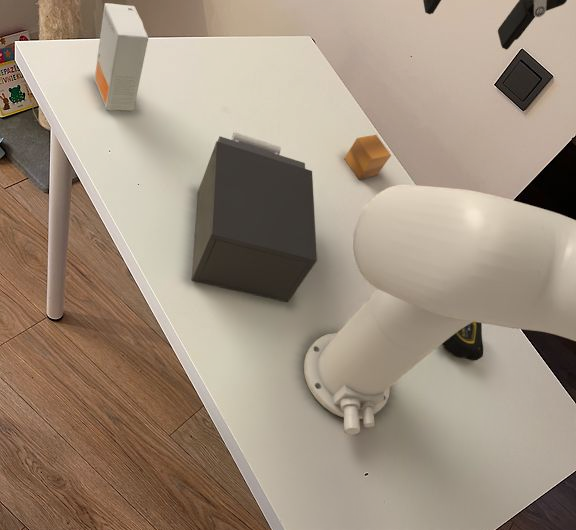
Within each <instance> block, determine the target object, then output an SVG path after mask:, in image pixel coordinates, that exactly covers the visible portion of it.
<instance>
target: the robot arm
mask: <svg viewBox="0 0 576 530" xmlns="http://www.w3.org/2000/svg"><path fill="white" fill-rule="evenodd" d="M441 1H442V0H422V2H423V8H424V13H425V14H428V15H431V14H432V15H433V14H434V13H435V10H437V8H438V6H439V5H440V3H441ZM567 2H568V0H518V2H517V3H516V4H515V5H514V7H513V8H512V9H511V11H510V13H508V15H507V16H506V18H505V19H504V20H503V22H502V23H501V24H500V26H499V27H498V28H497V34H498V39H499V42H500V46H501V48H502V49H504V50H506V51H507V50H509V49H510V47H511V46H512V45H513V44H514V42H515V41H517V40H518V39H519V38H520V37H521V36H522V34H524V32H525V31H526V30H527V28H528V27H529V25H531V23H532V22H533V21H534V19H535V18H541V17H542V16H544V15H545V13H546V12H548V11H550V10H553V9H556V8H558V7H561V6H564V5H565V4H566V3H567ZM352 249H353V256H354V260H355V263H356V266H357V268H358V270H359V272H360V274H361V275H362V277H363V278H364V280H366V281H367V282H368V283H369V284H370V285H371V286H372V287H374V288H376V289H375V291H374V292H373V293H372V294H370V296H369V297H368V298H367V300H366V301H365V302H364V303H363V304H362V305H361V306H360V308H359V309H358V310H357V311H356V312H355V313H354V315H352V317H351V318H350V319H349V320H348V321H347V322H346V323H345V324H344V326H343V327H342V328H341V329H340V330H339V331H338V332H331V333H328V334H324V335H323V336H320V337H319V338H317V339H316V340H315V341H314V342H313V343H312V344H311V345H310V346H309V348H308V350H307V352H306V354H305V357H304V359H303V373H304V378H305V381H306V385H307V387H308V389H309V391H310V392H311V394H312V396H313V397H314V398H315V399H316V401H317V402H318V403H319V404H320V405H321V406H323V408H325V409H326V410H328V411H329V412H331V414H334V415H336V416H338V417H341V418H343V426H344V427H343V429H344V433H345V434H347V435H356V434H359V433H360V432H361V426H360V425H361V423H360V420H362V421H363V427H364V428H373V427H375V425H376V423H375V414H377V413H378V412H380V411H381V410H382V409H383V408H384V407H385V405H386V404H387V402H388V399H389V397H390V394H391V386H392V385H394V384H395V383H396V382H397V381H399V380H400V379H401V378H402V377H403V376H404V375H406V374H407V373H408V372H410V371H411V370H412V369H413V368H414V367H415V366H417V365H418V364H419V363H421V361H423V360H424V359H425V358H426V357H428V356H429V355H430V354H431V353H433V352H434V351H435V350H437V348H439V347H440V346H441V345H442V343H444V342H445V341H446V340H447V339H449V338H450V337H451V336H452V335H454V334H455V333H456V332H458V331H459V330H461V329H462V328H464V327H465V326H467V325H468V324H470V323H472V322H479V323H481V324H485V325H492V326H497V327H503V328H509V329H516V330H523V331H524V330H525V331H535V332H542V333H547V334H551V335H555V336H559V337H561V338H565V339H568V340H571V341H574V342H576V219H573V218H571V217H568V216H566V215H564V214H561V213H558V212H555V211H552V210H548V209H546V208H545V209H544V208H541V207H538V206H536V205H535V206H534V205H530V204H528V203H523V202H520V201H516V200H513V199H509V198H506V197H502V196H498V195H495V194H492V193H491V194H490V193H485V192H480V191H475V190H469V189H465V188H464V189H463V188H453V187H442V186H440V187H439V186H428V185H418V184H407V183H406V184H405V183H403V184H396V185H393V186H392V185H391V186H390V187H387V188H385V189H383V190H381V191H380V192H379V193H377V194H376V195H374V196H373V197H372V198H371V200H370V201H369V202H368V203H367V204H366V205H365V206H364V208H363V210H362V211H361V212H360V215H359V216H358V219H357V221H356V224H355V226H354V232H353V239H352Z"/></svg>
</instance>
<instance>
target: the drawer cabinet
mask: <svg viewBox="0 0 576 530" xmlns="http://www.w3.org/2000/svg"><path fill="white" fill-rule="evenodd" d="M195 210H196V211H195V224H194V225H195V226H194V236H193V237H194V239H193V255H192V266H191V282H195V283H199V284H205V285H208V286H214V287H217V288H222V289H227V290H231V291H236V292H240V293H246V294H248V295H253V296H258V297H263V298H267V299H270V300H271V299H272V300H277V301H280V302H285V303H289V301H290V300H291V299H292V297H293V296H294V294H295V293H296V292H297V290H298V289H299V287H300V286H301V284H302V283H303V281H304V280H305V279H306V277H307V276H308V274H309V273H310V271H311V270H312V269H313V267H314V266H315V264H316V263H317V261H318V254H317V237H316V235H317V234H316V220H315V217H316V216H315V198H314V181H313V170H310V169H308V168H305V169H304V168H301V167H298V166H295V165H292V164H288V163H285V162H282V161H279V160H276V159H272V158H269V157H266V156H263V155H260V154H256V153H253V152H250V151H247V150H243V149H240V148H237V147H234V146H231V145H227V144H224V143H221V142H218V140H217V141H216V142H215V145H214V146H213V150H212V152H211V155H210V158H209V160H208V163H207V166H206V168H205V171H204V174H203V177H202V180H201V182H200V185H199V188H198V190H197V195H196V209H195Z"/></svg>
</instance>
